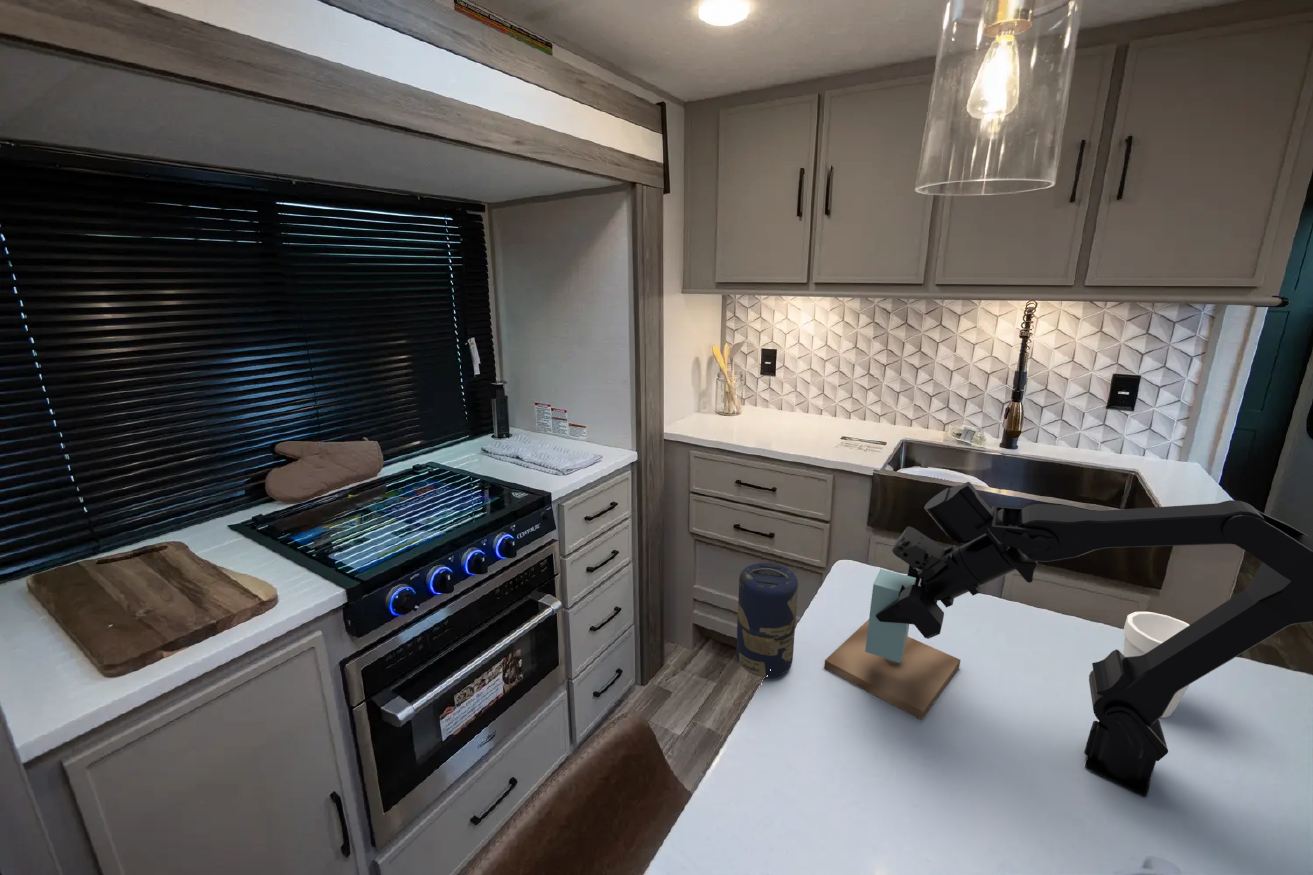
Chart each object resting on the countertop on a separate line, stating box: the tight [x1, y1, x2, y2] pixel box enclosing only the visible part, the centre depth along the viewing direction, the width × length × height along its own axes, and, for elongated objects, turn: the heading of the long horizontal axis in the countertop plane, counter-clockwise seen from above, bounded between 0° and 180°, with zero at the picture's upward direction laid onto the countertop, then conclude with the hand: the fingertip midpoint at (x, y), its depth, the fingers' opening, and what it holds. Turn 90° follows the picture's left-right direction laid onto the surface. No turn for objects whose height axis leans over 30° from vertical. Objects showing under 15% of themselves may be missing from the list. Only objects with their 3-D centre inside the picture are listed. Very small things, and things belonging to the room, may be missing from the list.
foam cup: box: [1122, 611, 1191, 718], centre depth 86 cm, size 10×9×13 cm
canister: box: [735, 562, 799, 678], centre depth 94 cm, size 10×10×18 cm
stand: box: [823, 618, 961, 721], centre depth 95 cm, size 16×16×5 cm
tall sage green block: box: [865, 568, 916, 663], centre depth 88 cm, size 5×5×12 cm
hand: (881, 609), depth 88 cm, fingers closed on tall sage green block, 5 cm apart
